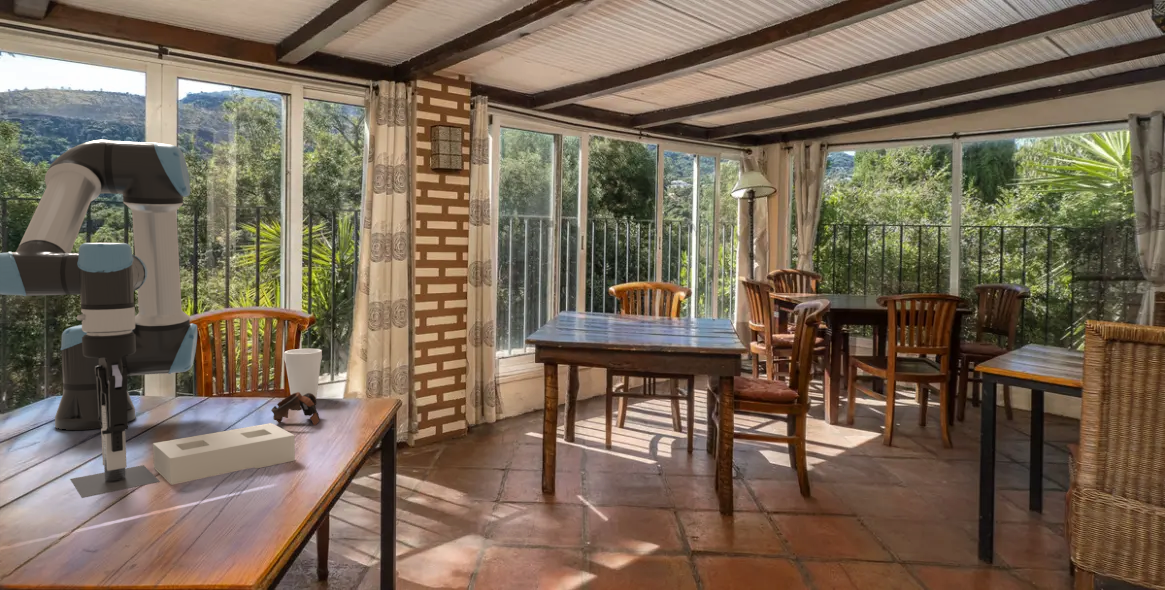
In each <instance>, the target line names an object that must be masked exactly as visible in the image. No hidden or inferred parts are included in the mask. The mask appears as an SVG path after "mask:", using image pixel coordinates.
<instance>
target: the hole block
mask: <svg viewBox="0 0 1165 590" xmlns="http://www.w3.org/2000/svg"><path fill="white" fill-rule="evenodd" d="M295 447H296V446H295V434H293V433H291V432H289V431H287V430H286V429H284V428H282V427H280V426H278V425H276V424H274V423H272V422H269V423H264V424H259V425H258V424H257V425H251V426H246V427H240V428H235V429H229V430H223V431H217V432H211V433H205V434H200V435H199V434H198V435H194V436H188V437H182V438H177V439H171V440H165V441H158V442H153V443H152V452H153V453H152V454H153V469H155V471H157V473H159V474H160V476H162V478H163V479H165V480H166V482H168V483H169V484H170V485H171V486H172V485H177V484H181V483H186V482H190V481H191V482H192V481H196V480H200V479H204V478H205V479H206V478H211V477H215V476H219V475H220V476H221V475H224V474H228V473H235V472H239V471H242V470H243V471H244V470H248V469H253V468H254V469H261V468H265V467H266V468H267V467H271V466H275V465H280V464H284V463H290V462H294V461H296V451H295V450H296V448H295Z"/></svg>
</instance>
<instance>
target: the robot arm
mask: <svg viewBox="0 0 1165 590" xmlns="http://www.w3.org/2000/svg"><path fill="white" fill-rule="evenodd" d="M188 170H189V169H188V166H187V162H186V159H185V156H184V153H183V151H182V150H181V149H180V147H178V146H176V145H174V144H170V143H169V144H167V143H161V142H159V143H158V142H145V141H141V142H140V141H139V142H138V141H123V140H122V141H121V140H108V139H96V140H91V141H86V142H83V143H81V144H78V145H75V146H74V147H73V146H72V148H69V149H67V150H66V151H65V152H63V153H62V154H60V155H59V156H58V157H57V158H55V160H54V161H52V163H51V164H50V166H49V167H48V169H47V171H46V173H45V176H44V183H45V186H46V187H45V189H44V192H43V194H42V196H41V198H40V200H39V203H38V204H37V207H36V208H35V211H34V212H33V215H32V217H31V219H30V222H29V224H28V226H27V228H26V230H25V232H24V234H23V237H22V238H21V240H20V243H19V244H18V247H17V248H16V250H15V252H12V251H8V252H0V295H3V296H23V297H26V296H56V295H57V296H58V295H62V296H63V295H64V296H65V295H79V297H80V298H79V299H80V309H81V313H82V314H77V316H76V320H77V321H81V324H79V325H74V326H71V327H68V328H66V329H64V330H63V331H62V333H61V344H60V345H61V347H60V349H59V350H60V351H61V353H60V354H61V365H62V366H61V369H62V384H63V387H62V388H63V389H62V390H63V391H62V392H63V393H62V396H61V399H60V401H59V405H58V408H57V410H56V412H55V413H56V414H55V416H54V425H55V426H54V427H55V428H56V429H58V428H59V429H58V430H62V429H66V430H65V431H85V430H87V431H88V430H96V429H100V431H101V432H100V433H101V452H102V453H101V454H102V455H101V457H102V465H103V466H104V448H103V434H105V436H106V459H107V470H108V471H110V470H115V469H120V468H128V467H127V466H128V465H127V447H126V446H127V443H126V430H128V428H129V422H131V421H134V420H135V419H136V408H135V405H134V403H133V401H132V399H131V396H130V393H129V392H128V391H129V390H128V380H129V376H145V375H160V374H161V375H163V374H164V375H165V374H168V375H172V374H175V373H185V372H188V371H189V370H190V369H192V367H193V364H194V360H195V355H196V350H197V342H198V325H197V324H195V323H190V319H191V318H190V315H188V313H186V312H184V311H183V309H182V293H181V277H180V275H181V273H180V257H179V256H180V255H179V240H178V239H179V238H178V237H179V236H178V224H177V223H178V222H177V221H178V220H177V218H178V217H177V210H179V209H180V207H182V205H184V198H186V197H189V196H190V195H191V186H190V185H191V181H190V175H189V171H188ZM100 194H113V195H115V194H116V195H117V194H118V195H122V203H123V205H125V206H127V207H128V208H129V209H130V210H131V214H132V215H131V216H132V228H133V229H132V230H133V232H132V233H133V244H134V254H133V253H132V251H133V250H132V246H131V245H130V244H129V243H125V242H84V243H81V245H80V246H79V247H78V252H72V250H73V248H74V245H75V243H76V239H77V237H78V235H79V232H80V230H81V227H82V225H83V222H84V220H85V218H86V215H87V212H88V209H89V206H90V204H91V202H93V201H95V200H96V199H97V198H98V197H99V196H100ZM136 291H137V299H138V300H137V301H138V313H137V314H136V309H135V299H134V294H135V293H134V292H136ZM102 405H105V407H106V421H107V429H106V430H104V431H103V425H102Z"/></svg>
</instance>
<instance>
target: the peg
mask: <svg viewBox="0 0 1165 590" xmlns="http://www.w3.org/2000/svg"><path fill="white" fill-rule="evenodd" d="M102 425H103V431H104V430H106V429H107V421H106V407H105V405H102ZM103 448H104V465H103V467H104V472H105V480H106V481H116V480H120V479H123V478H125V477H126V471H125V468H120V469H115V470H110V471H108V470H107V459H106V436H105V434H103ZM104 472H103V473H104Z"/></svg>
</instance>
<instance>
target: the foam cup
mask: <svg viewBox="0 0 1165 590" xmlns="http://www.w3.org/2000/svg"><path fill="white" fill-rule="evenodd" d="M322 351H323V349H320V348H297V349H295V348H294V349H289V350H286V351H284V353H283V356H284V357H283V359H284V360H283V361H284V362H285V369H286V375H287V379H288V387H289V393H290V395H292V394H294V393H297V392H300V394H301V395H302V396H303V395H305V394H307V393H311V394H313V395H314V396H315V398H316V399H317V396H318V389H319V379H320V371H321V363H322V362H321V361H322V359H323V355H322V354H323V353H322Z"/></svg>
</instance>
